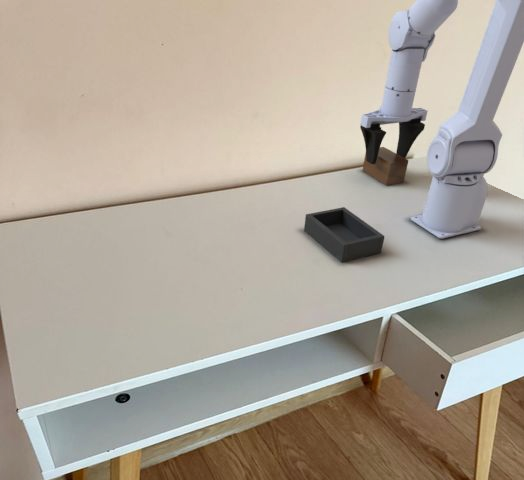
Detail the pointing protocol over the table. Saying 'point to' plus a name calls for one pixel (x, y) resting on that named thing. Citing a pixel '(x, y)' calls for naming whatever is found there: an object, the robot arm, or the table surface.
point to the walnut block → (387, 167)
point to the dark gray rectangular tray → (343, 234)
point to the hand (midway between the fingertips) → (385, 160)
